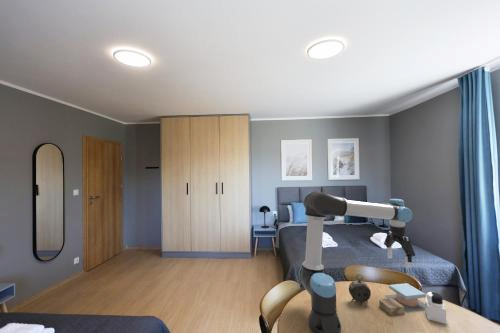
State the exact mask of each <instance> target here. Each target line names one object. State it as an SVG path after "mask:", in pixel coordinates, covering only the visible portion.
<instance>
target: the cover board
mask: <svg viewBox="0 0 500 333" xmlns="http://www.w3.org/2000/svg"><path fill="white" fill-rule="evenodd" d="M388 289H389V290H391V291H393V292H394V293H395V294H396V293H397V294H399V295H400V296H401V297H403V298H404V299H416V298H418V299H422V298H425V299H426V298H427V293H424V292H423V291H421V290H420V289H418V288H416V287H414V286H412V284H409V283H407V282H405V283H396V284H389V285H388Z"/></svg>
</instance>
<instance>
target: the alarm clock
mask: <svg viewBox="0 0 500 333" xmlns="http://www.w3.org/2000/svg"><path fill="white" fill-rule="evenodd" d="M358 276H361V279H360V278H359V279H358ZM355 277H356V280H353V281H352V282H350V284H349V286H348V292H349V295H350V296H351V297H352V299H351V302H352V303H353V301H355V302H357V303H360V306H363V303H369V302H368V301H369V299H370V298H371V295H372V292H371V289H370V287H369V285H367V283H366V282H364V281H363V275H362V274H357V275H356V276H355Z"/></svg>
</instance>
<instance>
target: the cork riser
mask: <svg viewBox="0 0 500 333" xmlns="http://www.w3.org/2000/svg"><path fill="white" fill-rule="evenodd" d="M378 301H379V306H378V307H380V308H381V309H382V310H383V311H385V313H387V314H388V315H389V316H398V315H400V316H401V315H405V311H404V306H402V305H401V304H399V303H398V302H397V301H395V300H394V299H393V298H390V299H388V298H382V299H379V300H378Z"/></svg>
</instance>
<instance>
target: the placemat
mask: <svg viewBox="0 0 500 333" xmlns="http://www.w3.org/2000/svg"><path fill="white" fill-rule="evenodd" d="M384 297H385V299H390V298H393V299H394V300H395V301H397V296H396V293H395V294H389V295H384ZM397 302H398V301H397ZM398 303H399V302H398ZM399 304H401V303H399ZM401 305H402V304H401ZM402 306H404V313H412V312H413V313H414V312H421V311H426V309H425V302H423V301H421V300H419V299H418V306H417V307H408V306H405V305H402Z"/></svg>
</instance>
